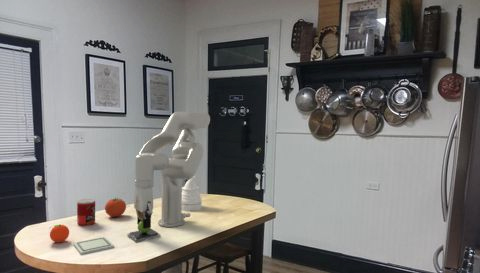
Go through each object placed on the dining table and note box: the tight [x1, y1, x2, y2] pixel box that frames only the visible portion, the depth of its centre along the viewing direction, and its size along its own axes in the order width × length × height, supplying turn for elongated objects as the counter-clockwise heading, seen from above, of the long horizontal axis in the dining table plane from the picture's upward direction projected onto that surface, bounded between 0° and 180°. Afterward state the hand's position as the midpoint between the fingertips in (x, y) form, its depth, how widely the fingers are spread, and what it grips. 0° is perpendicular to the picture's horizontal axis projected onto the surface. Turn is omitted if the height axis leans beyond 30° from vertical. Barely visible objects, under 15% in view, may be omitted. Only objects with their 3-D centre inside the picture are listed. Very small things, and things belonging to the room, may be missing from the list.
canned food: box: [76, 198, 96, 227], centre depth 155 cm, size 8×8×11 cm
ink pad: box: [126, 228, 161, 243], centre depth 139 cm, size 11×9×2 cm
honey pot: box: [182, 175, 203, 212], centre depth 187 cm, size 13×13×18 cm
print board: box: [73, 236, 115, 256], centre depth 127 cm, size 12×12×1 cm
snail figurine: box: [135, 209, 152, 233], centre depth 139 cm, size 5×6×12 cm
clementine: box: [49, 224, 70, 243], centre depth 131 cm, size 8×7×7 cm
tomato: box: [104, 197, 127, 218], centre depth 168 cm, size 10×10×10 cm
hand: (143, 225), depth 139 cm, fingers closed on snail figurine, 5 cm apart
